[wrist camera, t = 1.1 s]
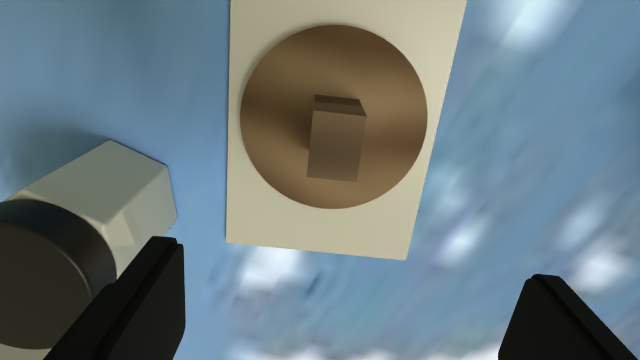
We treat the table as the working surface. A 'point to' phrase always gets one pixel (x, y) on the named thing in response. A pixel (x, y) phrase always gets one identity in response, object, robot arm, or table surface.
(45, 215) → the jar
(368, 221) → the placemat
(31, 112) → the table surface
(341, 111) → the lid
